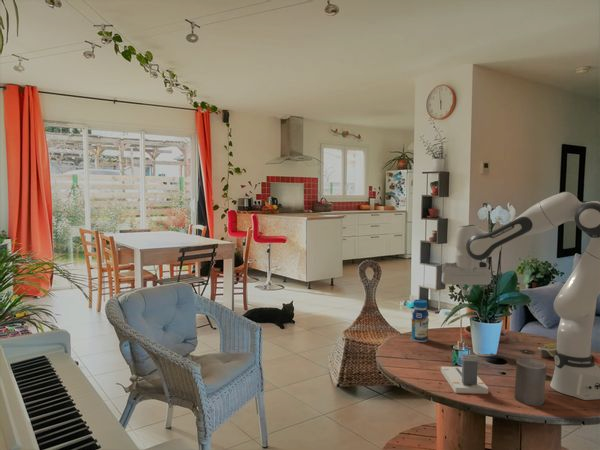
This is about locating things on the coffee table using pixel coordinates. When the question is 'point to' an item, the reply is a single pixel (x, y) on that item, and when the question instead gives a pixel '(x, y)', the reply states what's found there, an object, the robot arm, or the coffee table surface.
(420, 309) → the beverage bottle
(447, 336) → the coffee table surface
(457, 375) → the board
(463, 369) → the fader tab
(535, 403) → the pillar candle
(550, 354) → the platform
